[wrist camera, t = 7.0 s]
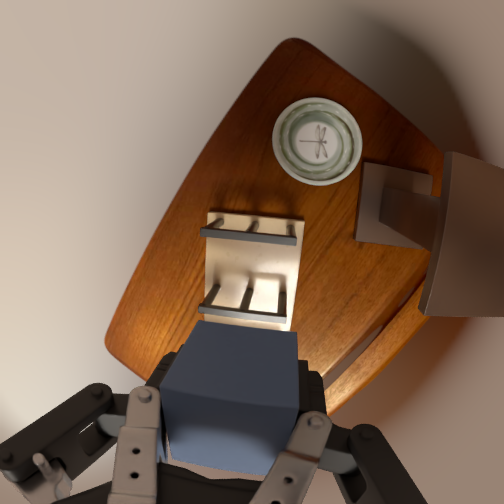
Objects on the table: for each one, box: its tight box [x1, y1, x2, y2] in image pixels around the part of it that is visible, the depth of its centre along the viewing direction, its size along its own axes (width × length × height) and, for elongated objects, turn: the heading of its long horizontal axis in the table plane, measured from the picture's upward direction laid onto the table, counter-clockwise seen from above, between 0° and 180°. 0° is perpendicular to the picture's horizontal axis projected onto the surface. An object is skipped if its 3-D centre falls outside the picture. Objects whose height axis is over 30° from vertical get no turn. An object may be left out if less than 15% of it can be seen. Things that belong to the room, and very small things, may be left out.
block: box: [160, 320, 299, 475], centre depth 11 cm, size 5×5×5 cm
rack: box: [198, 211, 305, 331], centre depth 33 cm, size 18×11×7 cm, turn 175°
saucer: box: [272, 98, 362, 185], centre depth 30 cm, size 10×10×2 cm
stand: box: [353, 152, 504, 317], centre depth 22 cm, size 9×9×20 cm
